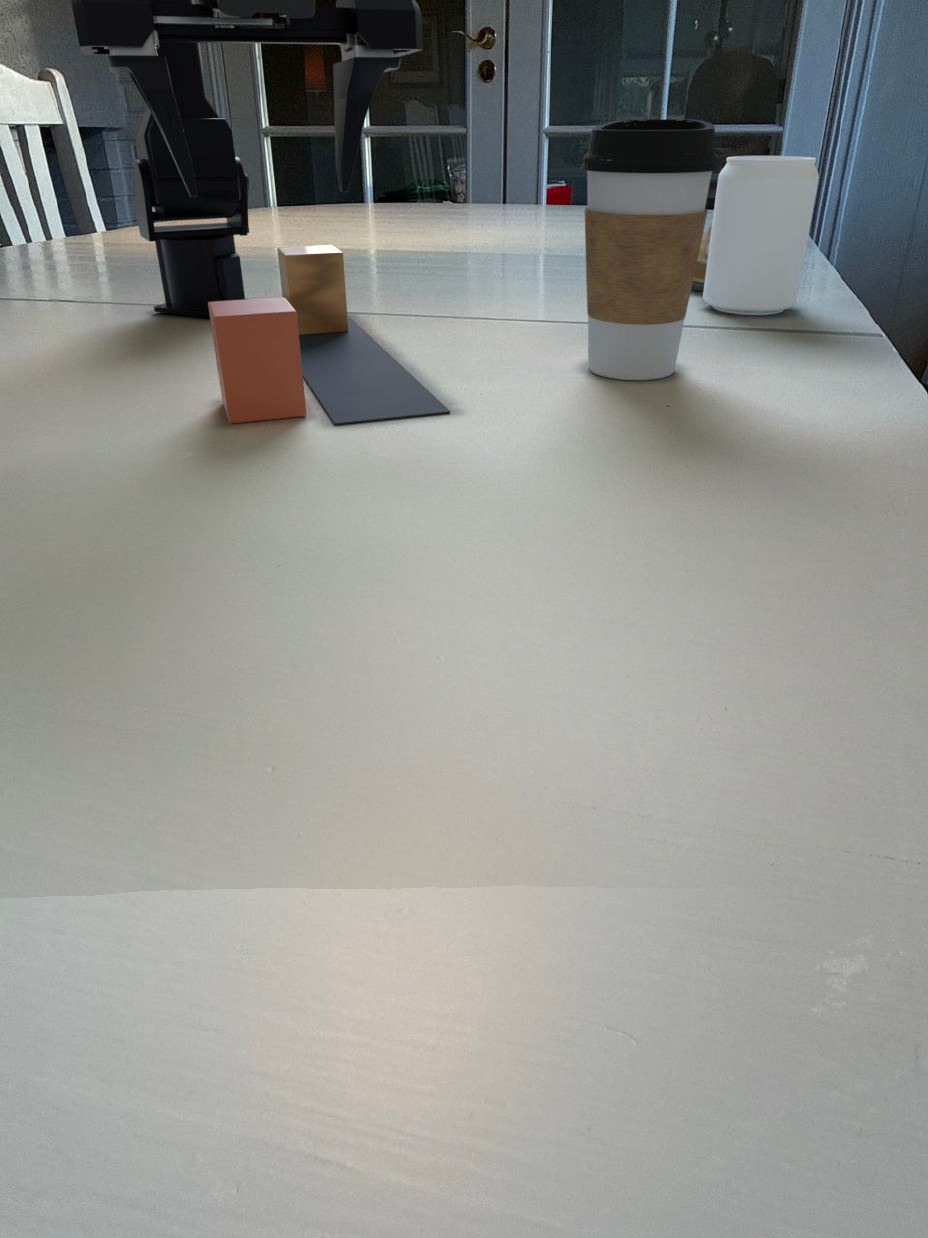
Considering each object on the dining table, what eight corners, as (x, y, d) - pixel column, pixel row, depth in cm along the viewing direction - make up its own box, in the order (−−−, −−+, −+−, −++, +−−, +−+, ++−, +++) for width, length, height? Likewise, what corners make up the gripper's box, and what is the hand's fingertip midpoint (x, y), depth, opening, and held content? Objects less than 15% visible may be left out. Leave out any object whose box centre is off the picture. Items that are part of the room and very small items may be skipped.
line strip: (450, 412, 52) (450, 411, 52) (334, 424, 50) (334, 423, 50) (347, 315, 76) (347, 314, 76) (267, 321, 74) (267, 320, 74)
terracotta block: (229, 424, 50) (213, 316, 47) (222, 402, 54) (207, 301, 51) (306, 416, 51) (296, 310, 48) (295, 395, 55) (284, 296, 52)
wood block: (293, 335, 69) (285, 254, 66) (285, 324, 73) (277, 247, 70) (348, 331, 70) (343, 251, 67) (337, 320, 74) (332, 244, 71)
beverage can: (800, 318, 74) (829, 160, 68) (703, 315, 76) (723, 159, 70) (789, 300, 81) (815, 155, 75) (700, 298, 82) (718, 155, 76)
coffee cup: (699, 359, 62) (730, 118, 55) (685, 390, 56) (718, 120, 48) (584, 350, 65) (599, 119, 57) (557, 379, 58) (569, 121, 50)
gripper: (28, -200, 37) (109, 209, 44) (449, -165, 42) (455, 195, 49) (47, -132, 46) (111, 196, 53) (390, -111, 51) (403, 186, 59)
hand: (270, 193), depth 53 cm, fingers open, 9 cm apart
